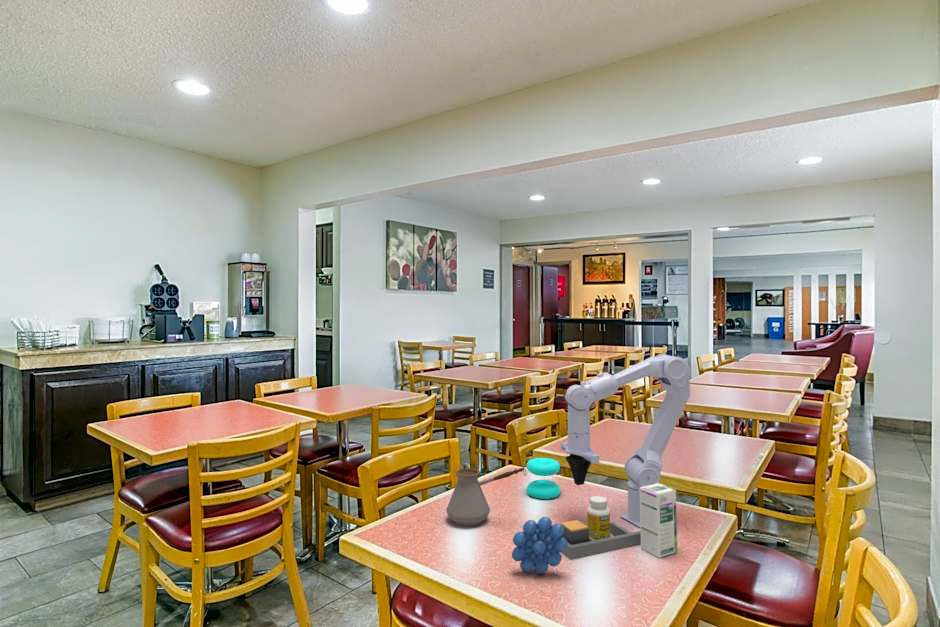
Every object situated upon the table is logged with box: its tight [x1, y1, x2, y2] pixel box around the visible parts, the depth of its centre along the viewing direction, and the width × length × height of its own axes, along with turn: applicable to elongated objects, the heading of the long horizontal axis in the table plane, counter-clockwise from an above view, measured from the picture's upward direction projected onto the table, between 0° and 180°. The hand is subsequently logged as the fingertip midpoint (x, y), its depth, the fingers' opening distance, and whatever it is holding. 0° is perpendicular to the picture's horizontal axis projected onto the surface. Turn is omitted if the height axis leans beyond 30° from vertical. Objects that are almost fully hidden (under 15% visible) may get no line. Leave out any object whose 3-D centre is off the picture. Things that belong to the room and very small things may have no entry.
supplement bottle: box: [586, 495, 611, 540], centre depth 126 cm, size 5×5×10 cm
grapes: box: [511, 516, 568, 575], centre depth 110 cm, size 12×7×12 cm, turn 83°
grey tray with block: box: [560, 519, 641, 560], centre depth 123 cm, size 20×8×5 cm, turn 112°
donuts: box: [526, 457, 561, 500], centre depth 156 cm, size 10×10×10 cm
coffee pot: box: [446, 467, 528, 527], centre depth 136 cm, size 21×12×15 cm, turn 74°
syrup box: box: [639, 482, 678, 559], centre depth 119 cm, size 6×6×14 cm
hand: (579, 483), depth 136 cm, fingers closed
